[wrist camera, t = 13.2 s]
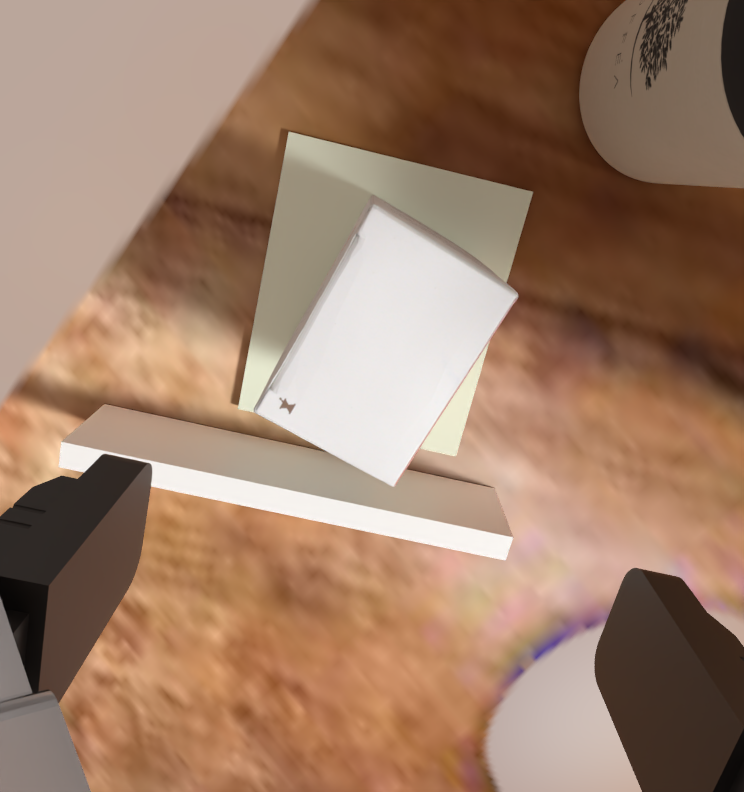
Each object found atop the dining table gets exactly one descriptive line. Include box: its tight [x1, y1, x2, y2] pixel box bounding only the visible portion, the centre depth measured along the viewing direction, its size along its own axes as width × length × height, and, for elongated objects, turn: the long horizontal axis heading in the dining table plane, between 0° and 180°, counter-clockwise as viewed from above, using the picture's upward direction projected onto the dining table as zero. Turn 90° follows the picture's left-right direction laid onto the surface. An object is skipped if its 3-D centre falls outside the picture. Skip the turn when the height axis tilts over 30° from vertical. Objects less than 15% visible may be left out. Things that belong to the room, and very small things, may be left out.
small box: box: [254, 195, 518, 487], centre depth 27 cm, size 8×6×10 cm
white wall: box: [59, 404, 513, 561], centre depth 33 cm, size 20×1×5 cm, turn 77°
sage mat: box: [238, 132, 533, 456], centre depth 33 cm, size 11×13×1 cm
